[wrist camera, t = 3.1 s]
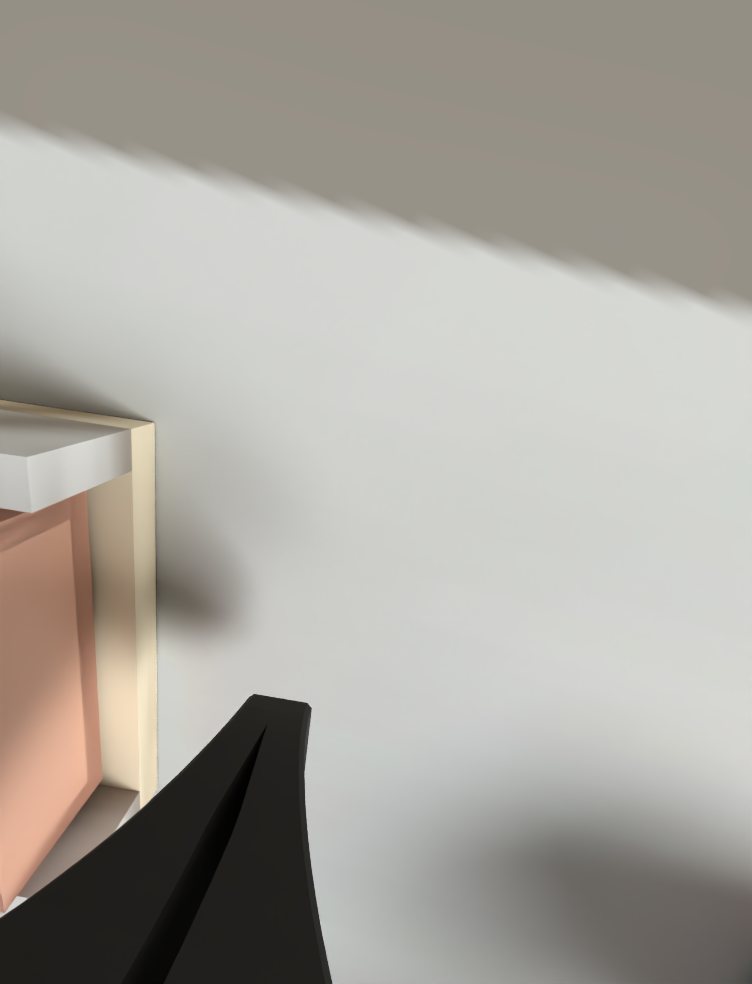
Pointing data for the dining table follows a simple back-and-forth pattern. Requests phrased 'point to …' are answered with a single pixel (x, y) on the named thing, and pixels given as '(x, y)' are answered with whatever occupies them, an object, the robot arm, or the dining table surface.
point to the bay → (99, 594)
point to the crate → (45, 684)
